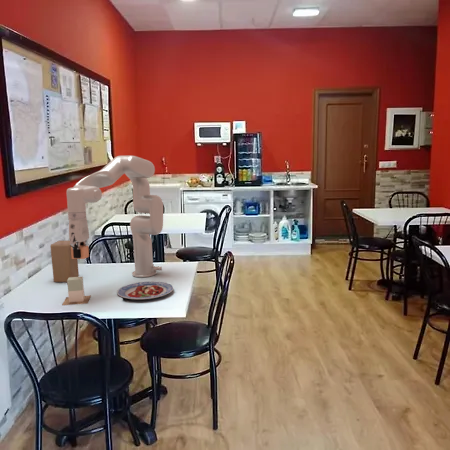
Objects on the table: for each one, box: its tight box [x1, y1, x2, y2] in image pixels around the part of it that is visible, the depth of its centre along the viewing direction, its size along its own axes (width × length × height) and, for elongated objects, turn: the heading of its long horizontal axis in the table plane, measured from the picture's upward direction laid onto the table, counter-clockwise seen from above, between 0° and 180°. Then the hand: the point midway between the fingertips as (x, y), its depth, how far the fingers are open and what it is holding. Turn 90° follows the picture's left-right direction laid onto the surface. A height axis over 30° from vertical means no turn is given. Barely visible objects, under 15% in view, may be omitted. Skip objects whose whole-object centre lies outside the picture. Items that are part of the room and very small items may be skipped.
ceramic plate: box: [116, 280, 174, 301], centre depth 222 cm, size 26×26×3 cm
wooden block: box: [50, 240, 80, 283], centre depth 247 cm, size 10×10×20 cm
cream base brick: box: [67, 288, 85, 302], centre depth 212 cm, size 6×4×5 cm
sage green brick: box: [66, 276, 85, 292], centre depth 211 cm, size 6×4×5 cm
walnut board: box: [62, 295, 92, 306], centre depth 212 cm, size 11×11×1 cm
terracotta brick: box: [71, 245, 90, 260], centre depth 212 cm, size 6×4×5 cm
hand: (80, 256), depth 212 cm, fingers closed on terracotta brick, 4 cm apart
